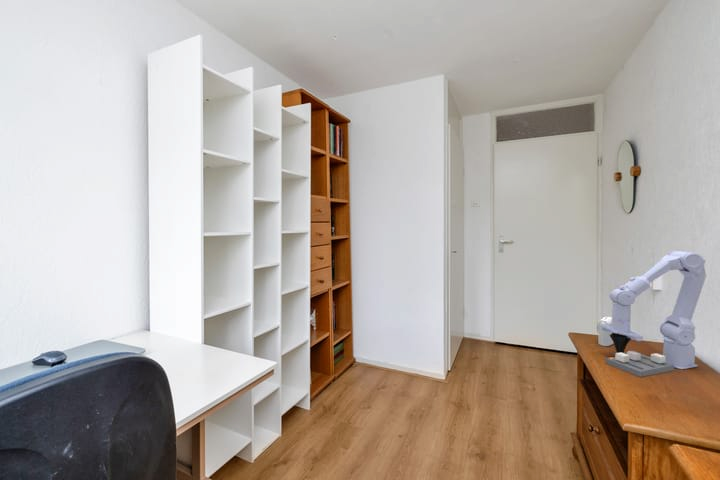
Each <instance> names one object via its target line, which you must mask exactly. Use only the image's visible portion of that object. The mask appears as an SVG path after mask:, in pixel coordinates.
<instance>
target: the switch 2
mask: <svg viewBox="0 0 720 480" xmlns="http://www.w3.org/2000/svg"><path fill="white" fill-rule="evenodd" d="M650 357H651V361H654V362H657V363H665V358H666V356H663V354H660V353H656V352H655V353H651V354H650Z"/></svg>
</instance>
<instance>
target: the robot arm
mask: <svg viewBox="0 0 720 480" xmlns="http://www.w3.org/2000/svg"><path fill="white" fill-rule="evenodd" d="M705 264H706V259H704V257H703V256H702V255H701V254H700V253H698V252H693V251H682V250H681V251H680V250H677V249H676V250H675V249H674V250H672V251H669V252H668V253H667V254H666V255H664V256H662V257H661V260H660V261H658V262H657V263H656V264H655V265H654V266H652V267H651V268H650V269H648V270H647V271H646V272H645V273H644V274H642V275H641V276H640V275H639V276H638V275H637V276H634V277H633V276H631V277H630V278H629V281H627V282H626V283H625V284H624V285H620V286H619V288H615V289H613V290H612V291H611V293H610V294H609V298H610V301H612V311H611V317H612V326H607V325H601V330H605V331H609V332H612V334H610V337H611V339H612V340H613V342H614V344H613V345H614V347H615V351H616V353H621V352H622V353H624V352H625V350H626V347H627V345H628V344H629V342H630V341H631V340H635V341H637V342H642V341H643V338H644V335H641V334H638V333H636V332H633V331H631V315H632V314H631V313H632V312H631V310H632V305H633V304H634V303H635V301H636V298H637V297H639V296H640V295H641V294H642V293H644V292H645V291H647V290H649V289H650V288H651V283H652V282H654V281H656V280H657V279H658V278H660V277H661V276H663V275H665V274H666V273H667V272H669V271H679V272H680V274H681V275H682V276H683V281H682V283H681V286H680V289H679V292H678V294H677V298H676V301H675V305H674V307H673V310H672V313H671V314H670V315H669V316H666V317H665V319H664V321H663V322H662V323H661V324H660V326H659V332H660V333H661V335H663V337H662V338H663V347H662V349H663V351H662V355H663V356H666V358H665V362H666V363H669V364H672V365H674V369H675V368H676V369H679V370H686V369H690V368H696V367H697V368H698V365H697V364H695V357H696V349H695V346H694V345H693V344H692V343H693V342H694V341H695V340H696V335H695V334H696V333H695V329H696V327H695V324H694V322H693V320H692V319H693V317H694V313H695V310H696V307H697V304H698V302H699V298H700V297H701V296H700V295H701V293H702V289H703V286H704V284H705V282H706V278H707V273H706V272H707V271H706V269H705ZM624 354H625V353H624Z"/></svg>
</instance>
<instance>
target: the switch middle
mask: <svg viewBox="0 0 720 480" xmlns="http://www.w3.org/2000/svg"><path fill="white" fill-rule="evenodd" d="M626 354H627V355H630V359H632V360H635V361H636V360H641V354H642V353H641V352H638V351H634V350H628V351H626Z"/></svg>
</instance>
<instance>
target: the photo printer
mask: <svg viewBox="0 0 720 480" xmlns="http://www.w3.org/2000/svg"><path fill="white" fill-rule="evenodd" d="M601 325H607V326H612V316H605V317H604V316H603V318H601V319H600V320H599V321H598V332H597V333H598V334H597V335H598V337H597V339H598V340H597V344H598V345H599V346H603V347H610V346H611V345H614V342H613V340H612V339H611V337H610V334H612V332H609V331H605V330H601Z"/></svg>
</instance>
